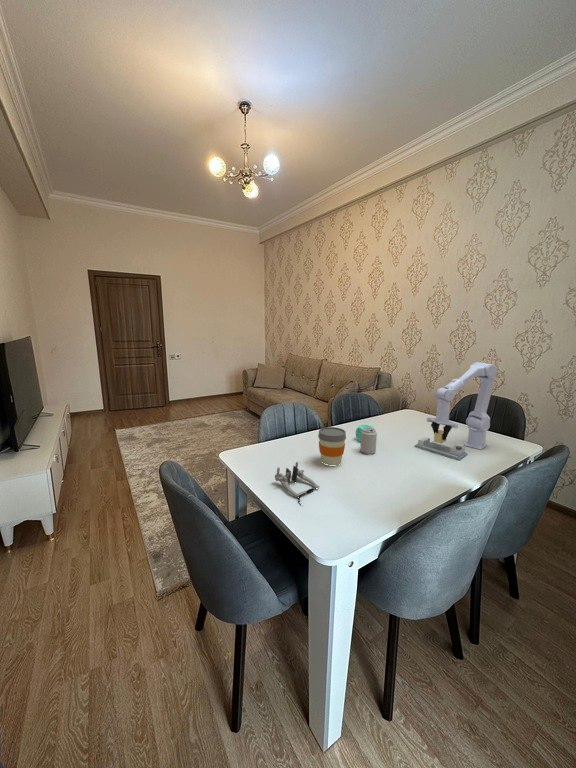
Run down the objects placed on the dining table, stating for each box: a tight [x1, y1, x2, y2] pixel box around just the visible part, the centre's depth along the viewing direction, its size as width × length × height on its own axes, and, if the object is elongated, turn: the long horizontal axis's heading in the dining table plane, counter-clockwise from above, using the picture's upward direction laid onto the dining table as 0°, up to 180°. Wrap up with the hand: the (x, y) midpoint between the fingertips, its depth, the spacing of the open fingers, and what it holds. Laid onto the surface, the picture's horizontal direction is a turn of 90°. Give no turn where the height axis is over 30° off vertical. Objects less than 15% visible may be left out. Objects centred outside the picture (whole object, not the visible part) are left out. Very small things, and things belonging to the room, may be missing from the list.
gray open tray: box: [414, 436, 469, 461], centre depth 156 cm, size 10×22×4 cm, turn 41°
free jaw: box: [450, 444, 466, 457], centre depth 150 cm, size 7×4×4 cm, turn 131°
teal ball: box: [355, 424, 375, 443], centre depth 170 cm, size 8×8×8 cm
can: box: [359, 427, 378, 455], centre depth 154 cm, size 8×8×12 cm
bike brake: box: [274, 461, 321, 503], centre depth 120 cm, size 14×7×20 cm
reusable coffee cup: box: [317, 426, 347, 466], centre depth 142 cm, size 12×13×15 cm
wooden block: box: [433, 429, 447, 445], centre depth 156 cm, size 6×4×5 cm, turn 131°
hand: (440, 438), depth 156 cm, fingers closed on wooden block, 4 cm apart
